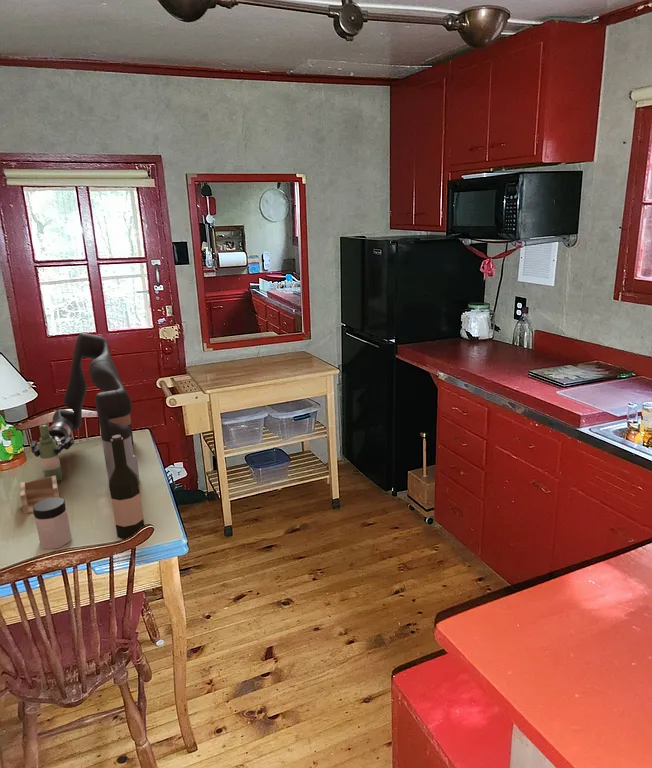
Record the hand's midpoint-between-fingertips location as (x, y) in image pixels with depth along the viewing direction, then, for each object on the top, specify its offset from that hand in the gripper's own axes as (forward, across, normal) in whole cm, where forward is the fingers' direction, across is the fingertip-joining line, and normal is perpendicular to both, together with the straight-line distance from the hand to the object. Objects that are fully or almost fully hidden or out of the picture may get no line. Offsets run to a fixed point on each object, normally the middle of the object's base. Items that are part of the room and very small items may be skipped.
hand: (46, 453), depth 193 cm
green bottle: (-3, 0, +11) cm, 11 cm away
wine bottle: (+39, +30, +12) cm, 51 cm away
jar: (+39, +10, +12) cm, 42 cm away
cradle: (+13, 0, +12) cm, 18 cm away
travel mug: (-31, +20, +12) cm, 39 cm away
